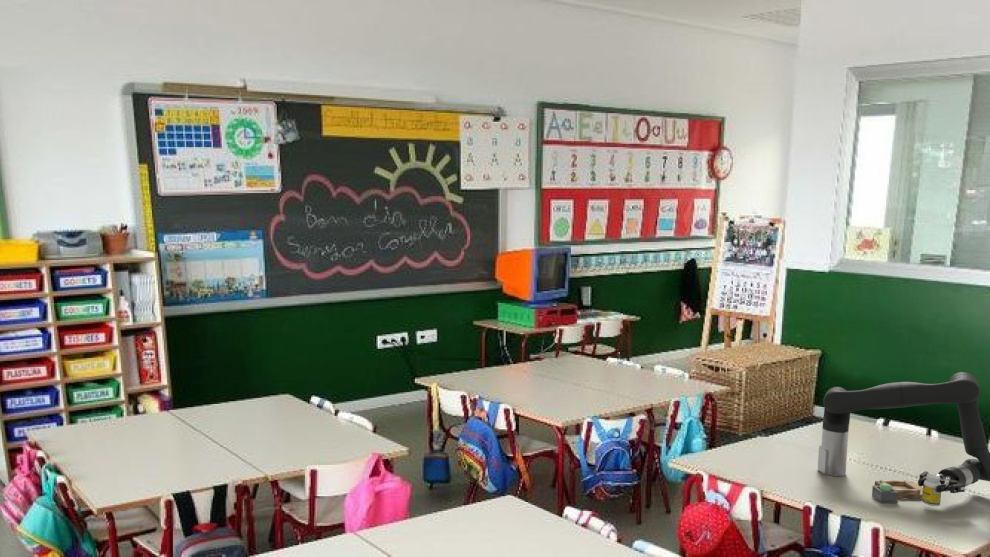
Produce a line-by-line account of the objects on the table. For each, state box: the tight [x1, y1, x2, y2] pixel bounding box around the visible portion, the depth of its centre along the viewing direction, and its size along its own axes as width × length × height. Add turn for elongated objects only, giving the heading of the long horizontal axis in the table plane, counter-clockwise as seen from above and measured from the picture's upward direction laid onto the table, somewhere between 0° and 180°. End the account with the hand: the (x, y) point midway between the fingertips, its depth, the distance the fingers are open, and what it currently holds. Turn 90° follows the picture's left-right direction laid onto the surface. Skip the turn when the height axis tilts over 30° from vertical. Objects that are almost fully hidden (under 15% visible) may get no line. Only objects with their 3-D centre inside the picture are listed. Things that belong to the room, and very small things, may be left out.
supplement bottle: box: [921, 473, 942, 507], centre depth 253 cm, size 5×5×10 cm
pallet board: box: [874, 479, 923, 498], centre depth 270 cm, size 14×13×3 cm
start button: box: [880, 483, 891, 491], centre depth 262 cm, size 4×4×3 cm
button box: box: [871, 485, 899, 504], centre depth 262 cm, size 6×6×4 cm
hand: (928, 486), depth 251 cm, fingers closed on supplement bottle, 5 cm apart
